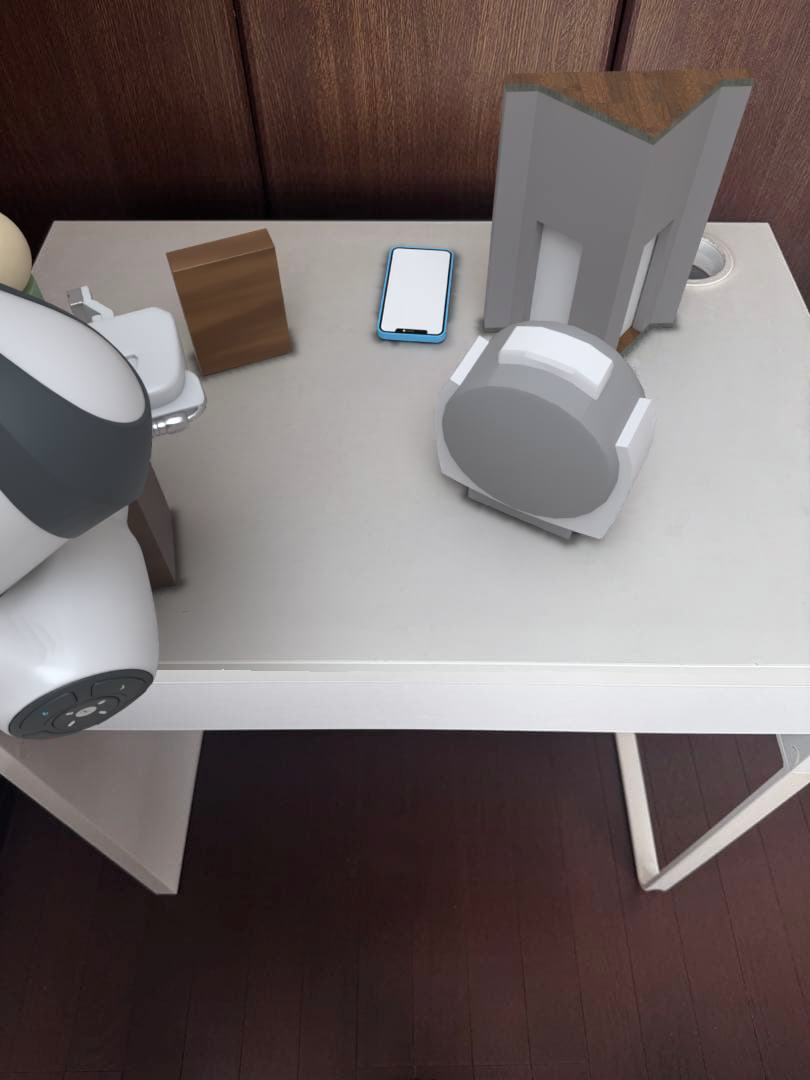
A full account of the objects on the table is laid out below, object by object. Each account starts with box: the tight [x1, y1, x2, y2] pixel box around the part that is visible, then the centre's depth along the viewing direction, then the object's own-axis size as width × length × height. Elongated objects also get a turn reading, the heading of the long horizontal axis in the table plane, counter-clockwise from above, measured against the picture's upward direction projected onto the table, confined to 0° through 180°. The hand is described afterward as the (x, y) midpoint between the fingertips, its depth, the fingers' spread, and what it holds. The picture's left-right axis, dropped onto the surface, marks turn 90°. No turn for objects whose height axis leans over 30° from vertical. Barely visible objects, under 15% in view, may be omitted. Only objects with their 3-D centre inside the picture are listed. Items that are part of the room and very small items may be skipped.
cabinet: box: [482, 67, 756, 356], centre depth 83 cm, size 21×10×28 cm, turn 92°
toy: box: [0, 212, 46, 301], centre depth 57 cm, size 13×6×13 cm
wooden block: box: [165, 227, 293, 377], centre depth 89 cm, size 3×10×14 cm, turn 111°
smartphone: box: [376, 245, 455, 343], centre depth 99 cm, size 8×1×15 cm
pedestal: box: [127, 461, 177, 590], centre depth 72 cm, size 8×8×22 cm
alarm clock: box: [434, 321, 657, 540], centre depth 76 cm, size 18×8×20 cm, turn 62°
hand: (8, 313), depth 57 cm, fingers open, 8 cm apart
